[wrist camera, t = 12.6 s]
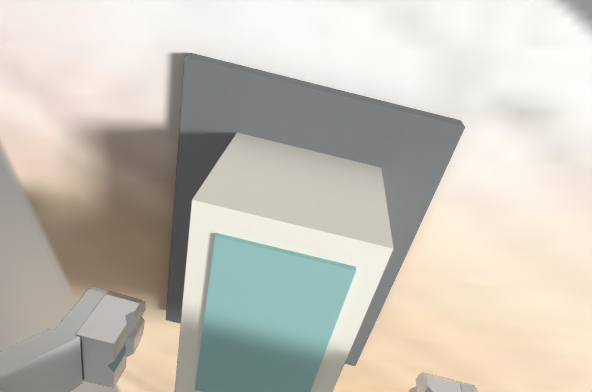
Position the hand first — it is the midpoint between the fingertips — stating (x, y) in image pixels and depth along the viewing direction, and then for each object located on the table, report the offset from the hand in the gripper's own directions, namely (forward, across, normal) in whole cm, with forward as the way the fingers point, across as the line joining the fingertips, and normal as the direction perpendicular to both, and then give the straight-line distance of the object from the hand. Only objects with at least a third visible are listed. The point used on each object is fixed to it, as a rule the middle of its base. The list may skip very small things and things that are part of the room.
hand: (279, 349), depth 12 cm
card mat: (+5, 0, 0) cm, 5 cm away
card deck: (+5, 0, 0) cm, 5 cm away
